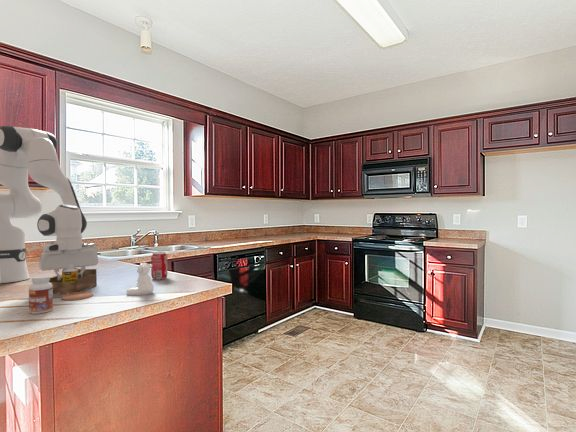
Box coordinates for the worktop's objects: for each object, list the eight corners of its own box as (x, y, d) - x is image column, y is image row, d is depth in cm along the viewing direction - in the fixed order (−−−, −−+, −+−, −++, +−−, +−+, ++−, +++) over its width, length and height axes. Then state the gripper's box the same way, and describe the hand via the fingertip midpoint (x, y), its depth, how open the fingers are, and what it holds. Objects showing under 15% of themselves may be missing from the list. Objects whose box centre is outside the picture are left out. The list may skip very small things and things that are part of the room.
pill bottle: (24, 314, 107) (24, 279, 106) (35, 309, 113) (34, 275, 113) (47, 313, 108) (46, 278, 108) (56, 308, 114) (55, 274, 114)
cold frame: (41, 292, 134) (41, 274, 134) (65, 285, 148) (65, 268, 148) (75, 293, 134) (75, 275, 134) (96, 285, 147) (96, 268, 147)
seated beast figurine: (144, 289, 140) (144, 260, 139) (161, 291, 136) (160, 261, 136) (125, 295, 131) (124, 263, 131) (142, 297, 128) (142, 264, 127)
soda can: (164, 276, 166) (163, 251, 165) (169, 278, 160) (169, 253, 160) (149, 278, 161) (148, 252, 161) (154, 281, 156) (154, 254, 155)
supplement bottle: (62, 291, 137) (61, 265, 137) (62, 288, 142) (61, 263, 141) (78, 289, 140) (78, 264, 140) (78, 286, 145) (77, 262, 144)
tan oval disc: (55, 300, 124) (55, 298, 124) (73, 293, 134) (73, 291, 134) (82, 300, 123) (82, 298, 123) (98, 293, 133) (98, 291, 133)
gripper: (95, 242, 150) (96, 274, 150) (38, 246, 136) (38, 281, 136) (100, 243, 145) (100, 276, 145) (40, 247, 131) (41, 283, 132)
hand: (70, 278), depth 141 cm, fingers closed on supplement bottle, 6 cm apart
